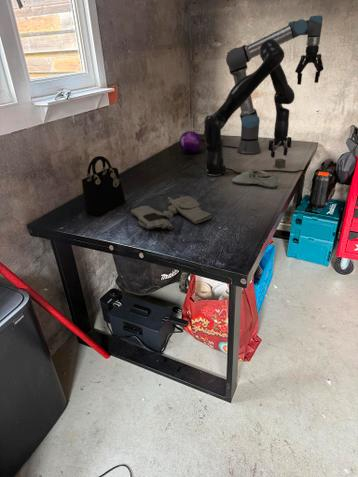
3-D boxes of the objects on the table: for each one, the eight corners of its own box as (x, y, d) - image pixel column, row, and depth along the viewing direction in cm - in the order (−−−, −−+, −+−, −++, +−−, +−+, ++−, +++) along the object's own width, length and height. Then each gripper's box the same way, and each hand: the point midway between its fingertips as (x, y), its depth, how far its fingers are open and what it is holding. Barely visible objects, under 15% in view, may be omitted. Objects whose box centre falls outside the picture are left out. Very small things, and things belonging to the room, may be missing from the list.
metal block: (280, 165, 200) (281, 158, 198) (284, 167, 197) (285, 160, 195) (274, 166, 199) (275, 159, 197) (279, 168, 196) (279, 161, 193)
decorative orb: (204, 151, 235) (204, 129, 228) (194, 156, 225) (193, 134, 217) (186, 149, 243) (186, 128, 235) (175, 154, 232) (174, 132, 224)
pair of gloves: (147, 237, 131) (146, 225, 129) (129, 213, 152) (128, 202, 149) (214, 220, 141) (214, 209, 138) (188, 199, 162) (188, 189, 159)
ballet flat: (235, 178, 184) (236, 165, 180) (279, 184, 173) (281, 170, 169) (230, 183, 177) (230, 169, 173) (275, 190, 166) (276, 175, 163)
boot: (217, 138, 265) (217, 112, 255) (214, 146, 244) (214, 118, 234) (206, 139, 266) (206, 112, 256) (202, 146, 246) (201, 118, 236)
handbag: (98, 217, 149) (87, 164, 137) (84, 214, 154) (72, 161, 141) (127, 201, 164) (120, 151, 152) (113, 198, 169) (105, 149, 156)
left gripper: (287, 125, 193) (284, 153, 201) (266, 128, 189) (265, 156, 197) (296, 127, 186) (292, 155, 195) (274, 131, 182) (272, 159, 190)
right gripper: (324, 44, 209) (319, 81, 220) (291, 47, 202) (288, 84, 213) (333, 44, 203) (327, 82, 214) (300, 46, 196) (295, 85, 207)
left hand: (278, 156), depth 196 cm, fingers open, 8 cm apart
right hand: (307, 83), depth 213 cm, fingers open, 13 cm apart
